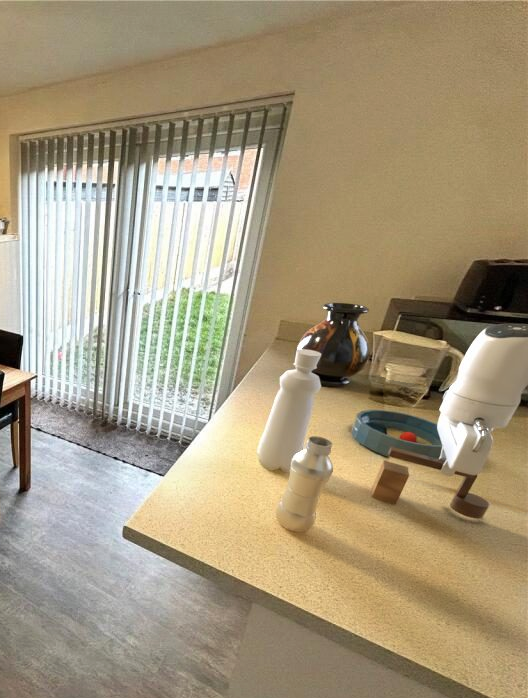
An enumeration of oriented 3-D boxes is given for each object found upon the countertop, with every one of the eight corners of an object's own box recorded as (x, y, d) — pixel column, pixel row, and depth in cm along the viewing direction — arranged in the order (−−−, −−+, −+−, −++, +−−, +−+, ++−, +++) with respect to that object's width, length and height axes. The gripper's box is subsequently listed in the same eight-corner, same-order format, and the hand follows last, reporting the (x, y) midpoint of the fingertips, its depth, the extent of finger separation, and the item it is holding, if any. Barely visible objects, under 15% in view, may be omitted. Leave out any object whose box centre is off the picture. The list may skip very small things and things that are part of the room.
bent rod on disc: (480, 509, 80) (502, 471, 76) (484, 522, 76) (508, 483, 73) (375, 478, 89) (390, 443, 85) (375, 488, 86) (391, 453, 82)
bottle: (257, 471, 96) (289, 356, 84) (252, 451, 104) (280, 344, 92) (300, 479, 93) (340, 361, 81) (291, 458, 101) (327, 348, 89)
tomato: (415, 430, 103) (403, 435, 104) (422, 441, 103) (410, 446, 103) (406, 429, 106) (394, 434, 107) (412, 440, 106) (400, 445, 106)
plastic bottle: (319, 532, 78) (352, 447, 70) (293, 540, 76) (323, 453, 68) (290, 511, 83) (317, 429, 75) (265, 517, 82) (290, 435, 74)
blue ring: (442, 442, 107) (451, 423, 105) (453, 476, 93) (464, 455, 91) (351, 421, 118) (357, 403, 116) (348, 449, 105) (356, 429, 102)
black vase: (363, 395, 134) (393, 315, 123) (289, 383, 145) (310, 308, 134) (354, 375, 151) (380, 303, 140) (288, 365, 162) (307, 298, 151)
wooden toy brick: (394, 495, 88) (407, 466, 84) (395, 504, 85) (409, 475, 82) (371, 488, 90) (383, 460, 87) (371, 497, 87) (384, 468, 84)
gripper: (515, 437, 65) (477, 503, 70) (488, 395, 79) (458, 453, 85) (460, 425, 68) (428, 489, 74) (444, 388, 83) (418, 443, 88)
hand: (444, 469), depth 79 cm, fingers closed on bent rod on disc
